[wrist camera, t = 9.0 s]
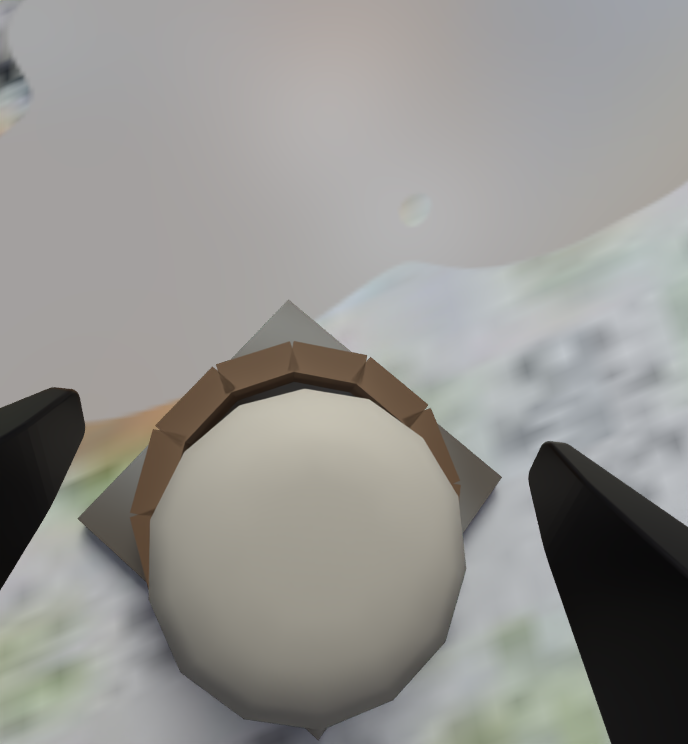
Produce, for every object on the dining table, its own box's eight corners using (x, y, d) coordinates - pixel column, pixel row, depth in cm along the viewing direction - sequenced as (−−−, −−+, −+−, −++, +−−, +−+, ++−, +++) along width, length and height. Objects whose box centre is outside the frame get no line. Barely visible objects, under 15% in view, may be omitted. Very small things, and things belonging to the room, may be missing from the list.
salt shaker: (243, 604, 17) (93, 964, 4) (208, 453, 18) (6, 386, 5) (391, 553, 18) (624, 724, 5) (349, 413, 19) (456, 276, 6)
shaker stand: (317, 728, 17) (321, 771, 14) (87, 517, 18) (52, 522, 15) (493, 477, 20) (522, 476, 17) (288, 306, 21) (287, 282, 18)
